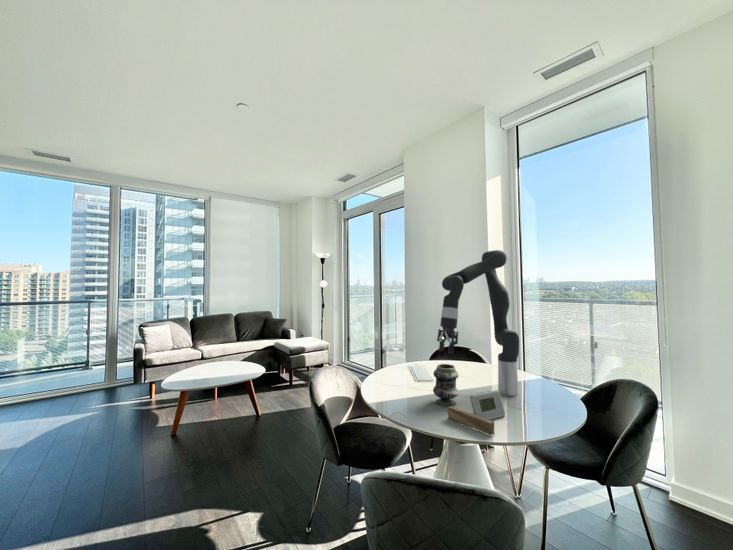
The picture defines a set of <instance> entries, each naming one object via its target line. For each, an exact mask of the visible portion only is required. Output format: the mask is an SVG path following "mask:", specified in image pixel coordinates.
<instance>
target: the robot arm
mask: <svg viewBox="0 0 733 550" xmlns="http://www.w3.org/2000/svg"><path fill="white" fill-rule="evenodd" d="M507 258H508V257H507V254H506V253H505V252H504V251H503V250H500V249H498V250H497V249H495V250H489V251H485V252H484V253H483V254H482V256H481V261H479V262H476V263H472V264H470V265H468V266H466V267H464V268H462V269H461V270H459V271H457V272H454V273H452V274H449V275H446V276H445V277H444V278H443V279H442V281H441V287H442V288H443V289H444V290H446V291H449V293H448V294H446V295H444V296H443V301H442V302H443V303H442V310H441V315H440V316H441V317H440V325H439V326H440V327H442V328H438V331H437V339H436V341H437V342H438V343H439V346H438V351H439V352H444V351H445V342H446V341H448V354H450V355H451V354H454V353H455V351H454V349H455V346H456V345H458V341H459V331H458V330H455V329H457V326H458V317H459V302H460V301H459V300H460V298H461V295H462V293H463V290H464V286H465V284H468V283H470V282H472V281H474V280H475V279H477V278H479V277H480V276H482V275H484V276H485V279H486V284H487V289H488V295H489V303H490V307H491V312H492V313H491V314H492V319H493V331H494V340H495V342H496V344H497V345H499V346H502V351H501V352H500V353H498V354H497V373H498V374H497V379H498V380H497V382H498V383H497V384H498V385H497V387H498V388H497V389H498V391H499V393H500V395H503V396H506V397H507V396H509V397H515V396H517V395H518V388H519V387H518V382H519V381H518V379H519V378H518V377H519V376H518V357H519V354H520V337H519V335H518V333H517V332H516V331H514V330H511V329H509V327H508V322H507V321H508V320H507V316H508V313H509V309H510V297H509V292H508V290H507V288H506V287H505V285H504V284H503V283H502V282H501V280H500V279H499V277H498V274H497V269H498V268H502V267H504V266H505V264H506V263H507Z"/></svg>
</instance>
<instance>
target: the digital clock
mask: <svg viewBox="0 0 733 550" xmlns="http://www.w3.org/2000/svg"><path fill="white" fill-rule="evenodd" d="M470 403H471V409H472V414H475V415H477V416H480V417H483V418H486V419H488V420H491V419H493V420H496V419H495V418H497V419H500V418H503V417H505V416H506V411H505V408H504V404H503V400H502V397H501V394H500V393H499V391H498V390H497V389H495V390H488V391H487V390H486V391H481V392H478V393H474V394H472V395H470ZM491 421H492V420H491Z"/></svg>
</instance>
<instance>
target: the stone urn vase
mask: <svg viewBox="0 0 733 550" xmlns="http://www.w3.org/2000/svg"><path fill="white" fill-rule="evenodd" d="M432 375H433V377H434V378H435V386H433V389H432V391H433V394H434V395H435V396H436V397H437V398H438V399H436V400H435V404H436V405H438V406H440V407H445V408H448V407H450V406H453V407H455V405H457V402H456V401H455V400H454V399H455V398H456V397H458V396H459V393H460V392H459V391H460V390H458V388H457V379H458V378H459V373H458V371H457V370H456V367H455V365H453V364H449V363H439V364H437V365H436V368H435V369H434V371H433V374H432Z"/></svg>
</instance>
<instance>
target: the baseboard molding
mask: <svg viewBox="0 0 733 550" xmlns="http://www.w3.org/2000/svg"><path fill="white" fill-rule="evenodd" d="M408 368H409V371H410V373H411V376H412V377H413V379H415V378H416V380H417V381H434V379H433V377H432V376H431V374H430V373H429V371H428V369H427V368H426V367H425V365H418V363H414V365H411V366H408Z"/></svg>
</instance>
